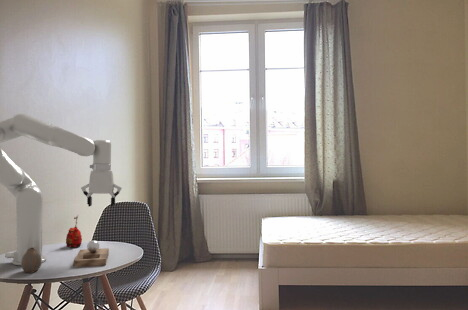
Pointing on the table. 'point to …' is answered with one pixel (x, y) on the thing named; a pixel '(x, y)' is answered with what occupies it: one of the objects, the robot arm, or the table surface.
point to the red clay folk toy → (74, 237)
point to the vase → (31, 260)
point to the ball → (93, 246)
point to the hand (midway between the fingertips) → (101, 206)
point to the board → (91, 258)
